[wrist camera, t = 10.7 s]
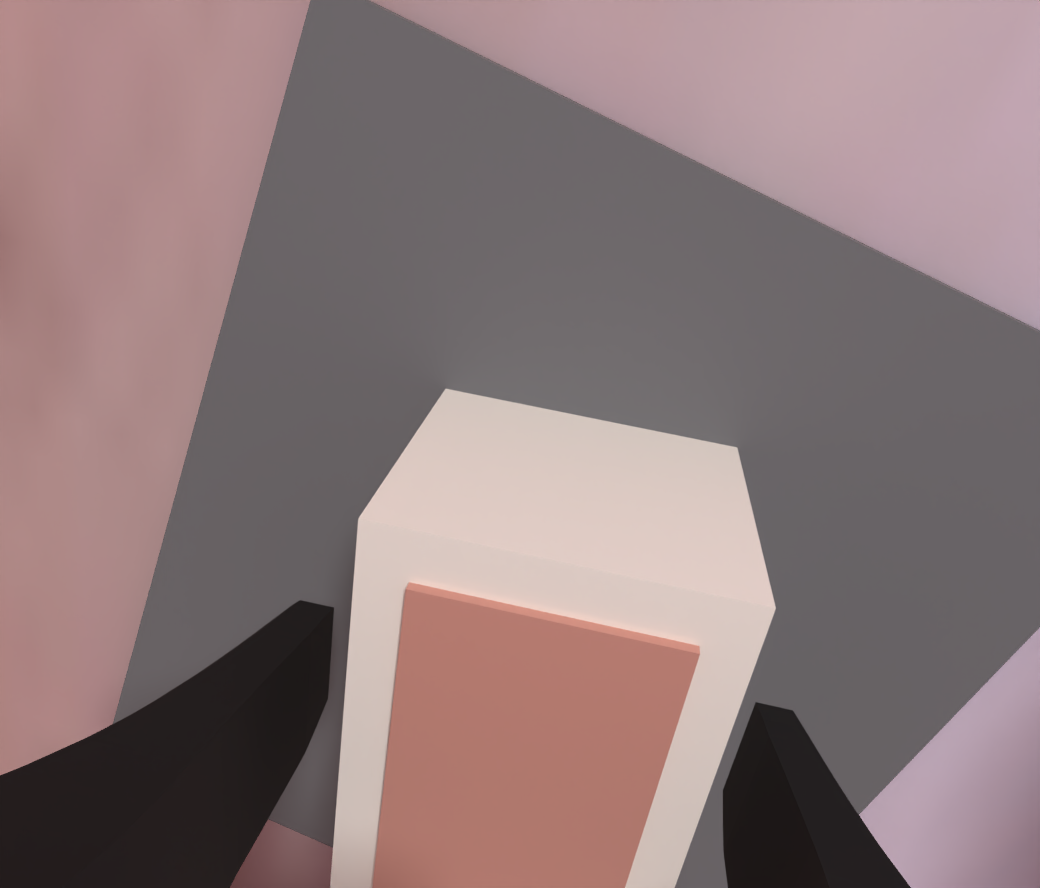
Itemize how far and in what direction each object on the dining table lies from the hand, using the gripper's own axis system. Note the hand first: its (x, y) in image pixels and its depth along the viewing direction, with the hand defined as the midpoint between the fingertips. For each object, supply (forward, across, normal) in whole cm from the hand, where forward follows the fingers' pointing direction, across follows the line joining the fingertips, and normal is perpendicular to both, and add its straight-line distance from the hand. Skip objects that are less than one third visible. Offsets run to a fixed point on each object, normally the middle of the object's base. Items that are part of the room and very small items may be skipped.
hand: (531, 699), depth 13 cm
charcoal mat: (+3, 0, 0) cm, 3 cm away
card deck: (+2, 0, 0) cm, 2 cm away
